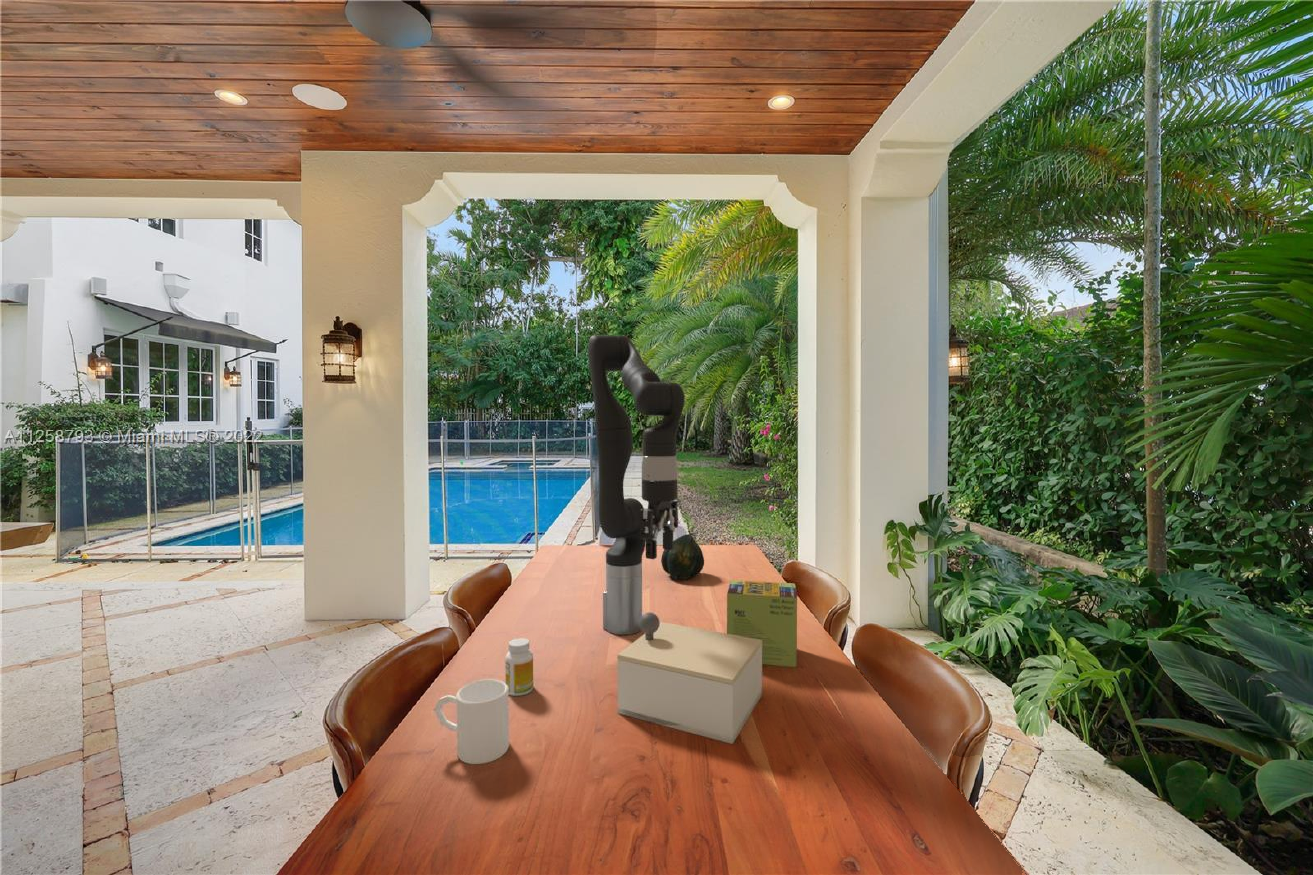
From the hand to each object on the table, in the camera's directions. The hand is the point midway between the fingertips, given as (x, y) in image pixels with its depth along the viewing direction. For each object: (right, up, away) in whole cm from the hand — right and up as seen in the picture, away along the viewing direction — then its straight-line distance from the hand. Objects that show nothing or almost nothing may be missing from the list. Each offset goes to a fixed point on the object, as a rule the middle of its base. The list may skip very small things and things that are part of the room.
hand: (659, 554), depth 116 cm
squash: (+8, -23, +72) cm, 76 cm away
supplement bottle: (-28, -26, -6) cm, 39 cm away
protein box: (+23, -25, +10) cm, 36 cm away
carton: (+6, -26, -12) cm, 29 cm away
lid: (+6, -16, -12) cm, 21 cm away
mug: (-31, -27, -26) cm, 48 cm away
